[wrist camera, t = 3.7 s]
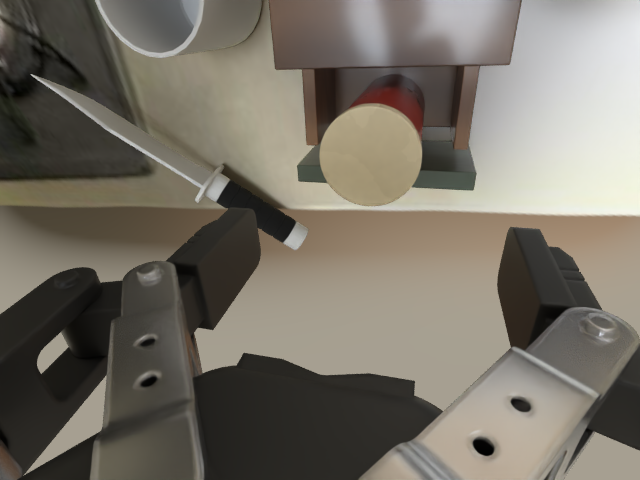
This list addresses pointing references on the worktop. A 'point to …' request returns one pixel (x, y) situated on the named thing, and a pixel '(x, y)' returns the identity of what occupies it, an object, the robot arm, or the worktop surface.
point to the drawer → (440, 111)
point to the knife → (190, 170)
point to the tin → (376, 143)
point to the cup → (180, 24)
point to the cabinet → (392, 33)
